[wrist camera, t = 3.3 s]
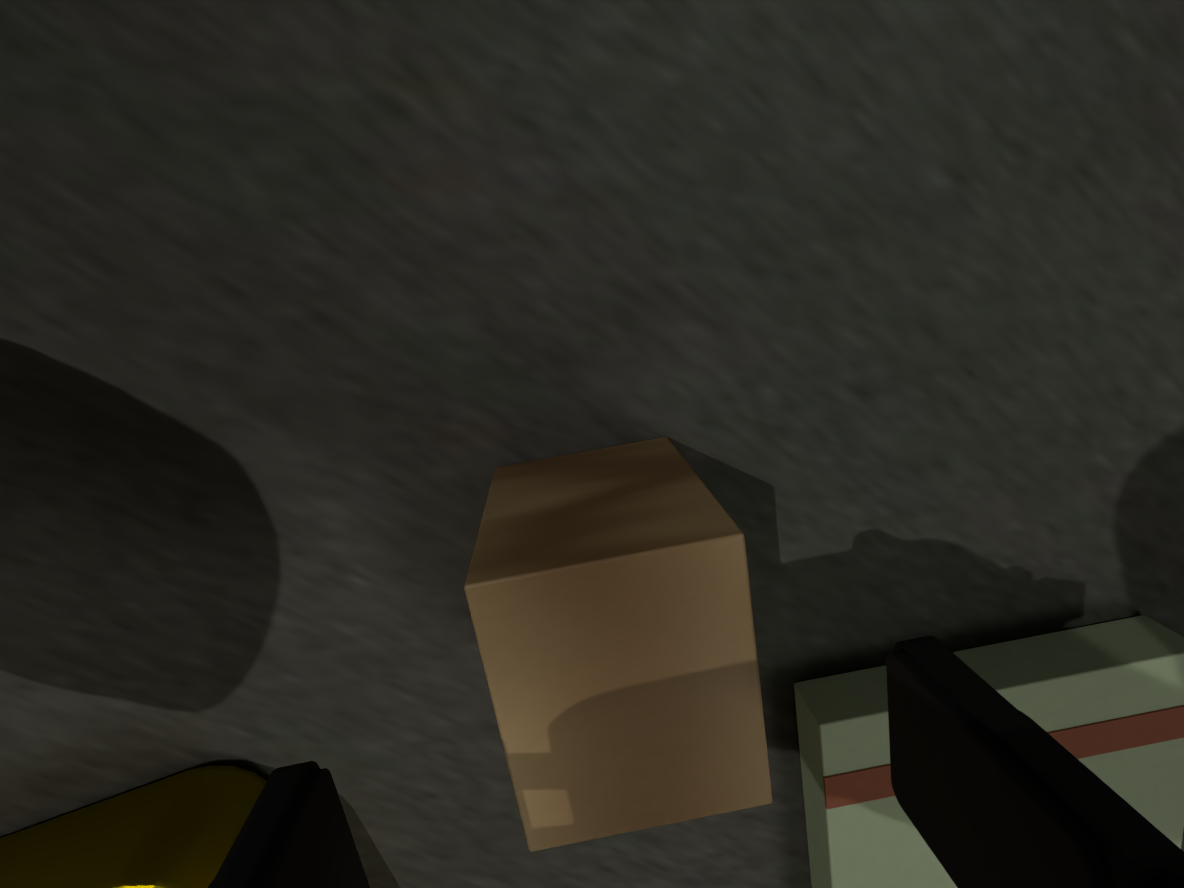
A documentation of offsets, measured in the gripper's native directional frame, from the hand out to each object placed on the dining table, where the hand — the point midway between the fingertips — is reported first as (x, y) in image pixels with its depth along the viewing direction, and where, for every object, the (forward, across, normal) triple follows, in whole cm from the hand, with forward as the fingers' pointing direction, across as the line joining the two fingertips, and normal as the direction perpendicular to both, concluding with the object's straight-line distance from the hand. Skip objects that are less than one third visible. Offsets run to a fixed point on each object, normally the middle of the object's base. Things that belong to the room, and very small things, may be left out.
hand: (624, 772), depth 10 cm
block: (+8, 0, 0) cm, 9 cm away
